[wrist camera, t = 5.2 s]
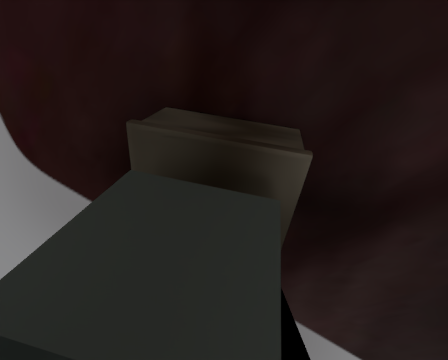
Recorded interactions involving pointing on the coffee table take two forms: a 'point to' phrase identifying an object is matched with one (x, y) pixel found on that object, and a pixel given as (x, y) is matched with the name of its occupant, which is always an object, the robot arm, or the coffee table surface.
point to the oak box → (222, 155)
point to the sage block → (151, 278)
